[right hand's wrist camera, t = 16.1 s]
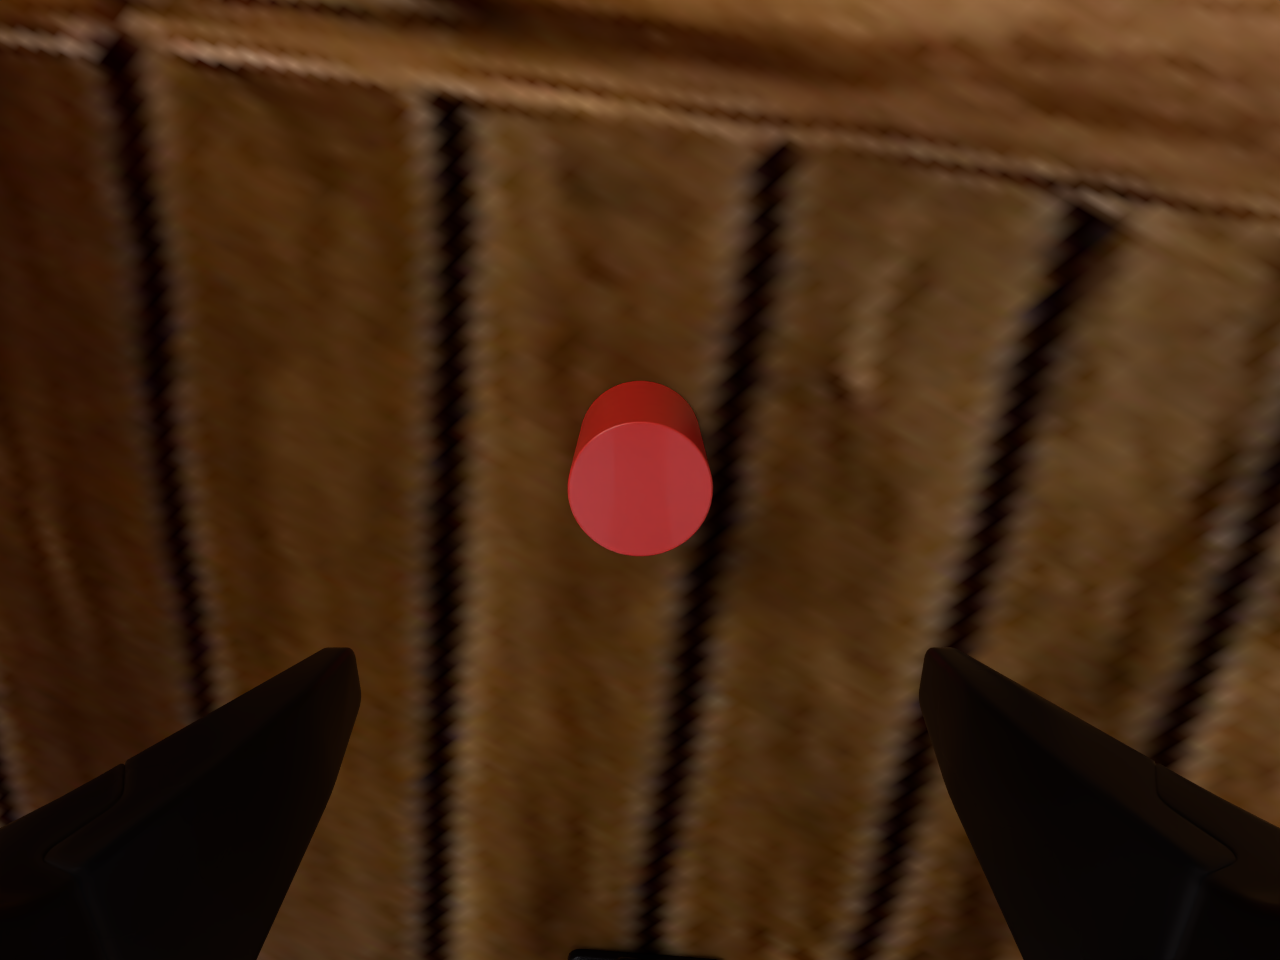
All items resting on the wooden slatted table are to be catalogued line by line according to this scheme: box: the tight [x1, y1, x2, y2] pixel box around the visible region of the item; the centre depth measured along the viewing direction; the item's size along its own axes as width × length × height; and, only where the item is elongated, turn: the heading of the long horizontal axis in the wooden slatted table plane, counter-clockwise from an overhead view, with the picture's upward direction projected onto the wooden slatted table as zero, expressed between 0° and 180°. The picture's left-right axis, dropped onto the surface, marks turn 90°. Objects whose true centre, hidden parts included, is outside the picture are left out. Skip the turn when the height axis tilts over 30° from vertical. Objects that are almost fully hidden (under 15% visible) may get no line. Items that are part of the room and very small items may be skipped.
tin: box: [568, 381, 713, 556], centre depth 21 cm, size 4×4×4 cm
